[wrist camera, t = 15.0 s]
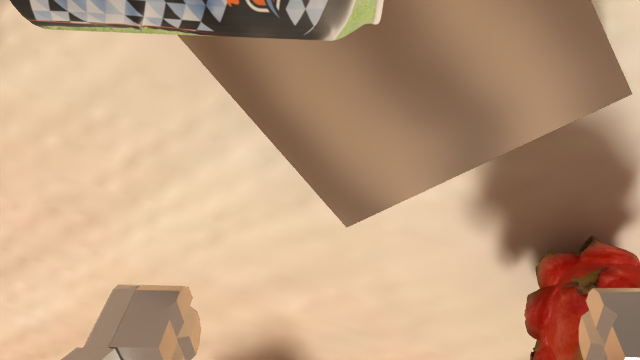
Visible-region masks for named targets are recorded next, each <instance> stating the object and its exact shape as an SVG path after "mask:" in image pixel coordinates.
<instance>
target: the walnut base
mask: <svg viewBox="0 0 640 360" xmlns="http://www.w3.org/2000/svg"><path fill="white" fill-rule="evenodd" d="M178 36H179V37H180V38H181V40H182V41H183V42H184V43H185V44H186V45H187V46H188V47H189V49H190V50H191V51H192V52H193V53H194V54H195V55H196V57H197V58H198V59H199V60H200V61H201V62H202V63H203V65H204V66H205V67H206V68H207V69H208V70H209V71H210V73H211V74H212V75H213V76H214V77H215V78H216V79H217V80H218V82H219V83H220V84H221V85H222V86H223V87H224V88H225V90H226V91H227V92H228V93H229V94H230V95H231V96H232V98H233V99H234V100H235V101H236V102H237V103H238V104H239V106H240V107H241V108H242V109H243V110H244V111H245V112H246V113H247V115H248V116H249V117H250V118H251V119H252V120H253V121H254V123H255V124H256V125H257V126H258V127H259V128H260V129H261V131H262V132H263V133H264V134H265V135H266V136H267V137H268V139H269V140H270V141H271V142H272V143H273V144H274V145H275V146H276V148H277V149H278V150H279V151H280V152H281V153H282V154H283V156H284V157H285V158H286V159H287V160H288V161H289V162H290V164H291V165H292V166H293V167H294V168H295V169H296V170H297V172H298V173H299V174H300V175H301V176H302V177H303V178H304V179H305V181H306V182H307V183H308V184H309V185H310V186H311V187H312V189H313V190H314V191H315V192H316V193H317V194H318V195H319V197H320V198H321V199H322V200H323V201H324V202H325V203H326V205H327V206H328V207H329V208H330V209H331V210H332V211H333V212H334V214H335V215H336V216H337V217H338V218H339V219H340V220H341V222H342V223H343V224H344V225H345V226H346V227H349V226H351V225H353V224H355V223H357V222H360V221H362V220H364V219H366V218H368V217H370V216H372V215H375V214H377V213H379V212H381V211H383V210H385V209H387V208H389V207H392V206H394V205H396V204H398V203H400V202H402V201H404V200H407V199H409V198H411V197H413V196H415V195H417V194H419V193H422V192H424V191H426V190H428V189H430V188H432V187H434V186H437V185H439V184H441V183H443V182H445V181H447V180H449V179H452V178H454V177H456V176H458V175H460V174H462V173H464V172H466V171H469V170H471V169H473V168H475V167H477V166H479V165H481V164H484V163H486V162H488V161H490V160H492V159H494V158H496V157H499V156H501V155H503V154H505V153H507V152H509V151H511V150H514V149H516V148H518V147H520V146H522V145H524V144H526V143H529V142H531V141H533V140H535V139H537V138H539V137H541V136H543V135H546V134H548V133H550V132H552V131H554V130H556V129H558V128H561V127H563V126H565V125H567V124H569V123H571V122H573V121H576V120H578V119H580V118H582V117H584V116H586V115H588V114H591V113H593V112H595V111H597V110H599V109H601V108H603V107H606V106H608V105H610V104H612V103H614V102H616V101H618V100H620V99H623V98H625V97H627V96H629V95H631V94H632V92H631V90H630V88H629V85H628V83H627V81H626V79H625V76H624V74H623V72H622V70H621V67H620V65H619V63H618V61H617V59H616V56H615V54H614V52H613V50H612V47H611V45H610V43H609V41H608V38H607V36H606V34H605V32H604V30H603V27H602V25H601V23H600V21H599V18H598V16H597V14H596V12H595V9H594V7H593V5H592V3H591V0H384V2H383V9H382V14H381V19H380V22H379V23H378V24H364V25H362V26H361V27H359V28H358V29H356V30H355V31H353V32H351V33H350V34H348V35H347V36H345V37H343V38H341V39H338V40H334V41H322V40H297V39H273V38H248V37H224V36H199V35H178Z"/></svg>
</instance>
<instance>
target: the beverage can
mask: <svg viewBox="0 0 640 360" xmlns="http://www.w3.org/2000/svg"><path fill="white" fill-rule="evenodd" d="M10 1H11V3H12V4H13V5H14V7H15V8H16V9H17V10H18V11H19V12H20V13H21V15H22V16H23V17H25V18H26V19H27V20H29V21H30V22H31V23H32V24H34V25H36V26H39V27H41V28H43V29H52V30H76V31H101V32H125V33H150V34H174V35H199V36H224V37H248V38H273V39H297V40H322V41H334V40H338V39H341V38H343V37H345V36H347V35H348V34H350V33H351V32H353V31H355V30H356V29H358V28H359V27H361V26H362V25H364V24H378V23H379V22H380V19H381V14H382V9H383V2H384V0H10Z"/></svg>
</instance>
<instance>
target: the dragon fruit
mask: <svg viewBox="0 0 640 360" xmlns="http://www.w3.org/2000/svg"><path fill="white" fill-rule="evenodd" d="M580 252H582V254H581V255H577V254H574V253H567V252H552V251H551V252H550V251H549V252H547V254H546V256H545V257H544V258H543V259H542V260H541V262H540V263H539V265H538V266H537V267H536V275H537V280H538V285H539V287H540V289H539V290H537V291H535V292H533V293H531V294H530V295H528V297H527V303H526V310H525V318H526V321H525V325H526V329H527V332H528V334H529V335H530V336H532V337H533V338H535V339H537V341H536V345H535V348H533V350H534V352H531V355H530V360H583V357H582V354H581V350H580V345H579V325H580V320H581V316H583V315H584V314H585V313H587V312H588V311H589V308H588V305H587V302H586V300H587V297H588V293H589V292H590V291H591V290H592V288H640V262H639V259H638V258H637V256H636V255H634V254H633V253H631V252H629V251H627V250H624V249H621V248H618V247H614V246H611V245H609V244H606V243H603V242H601V241H598V240H596V239H595V238H594V237H593V236H590V237H589V238H588V240H587V241H586V242H585V243H584V244H583V246H582V248H581V249H580Z"/></svg>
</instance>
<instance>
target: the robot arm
mask: <svg viewBox="0 0 640 360" xmlns="http://www.w3.org/2000/svg"><path fill="white" fill-rule="evenodd" d="M192 298H193V297H192V295H191V292H190V290H189V287H185V286H158V285H118V286H117V287H116V288H114V289H113V290H112V292H111V294H110V296H109V298H108V300H107V302H106V304H105V306H104V308H103V310H102V312H101V314H100V316H99V318H98V320H97V322H96V324H95V326H94V328H93V330H92V332H91V333H90V335H89V337H88V339H87V341H86V343H85V345H84V347H83V348H76V349H74V350H73V351H72V352H70V353H69V354H68V355H67V356H65V357H64V358H63V359H61V360H191V359H192V358H193V357H194V356H195V355H196V353H197V350H198V346H199V342H200V332H201V327H200V319H199V315H198V312H197V311H196V310H195V309H193V308H192V307H191V306H190V304H191V301H192ZM586 302H587V305H588V308H589V311H588V312H587V313H585V314H584V315H583V316H581V320H580V325H579V345H580V350H581V354H582V357H583V360H640V288H592V290H591V291H590V292H589V293H588V297H587V300H586Z"/></svg>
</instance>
